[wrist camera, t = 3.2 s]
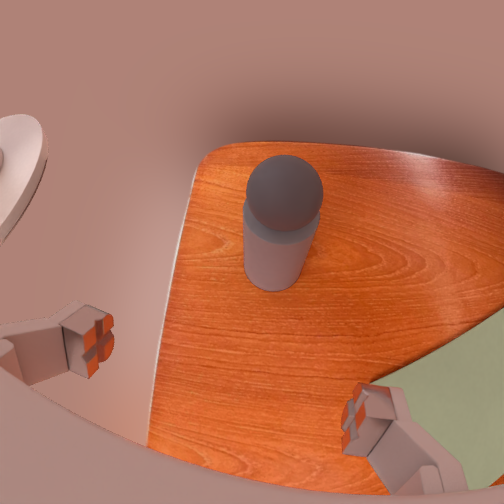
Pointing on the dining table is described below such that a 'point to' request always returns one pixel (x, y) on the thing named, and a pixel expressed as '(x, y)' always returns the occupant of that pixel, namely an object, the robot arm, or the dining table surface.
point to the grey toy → (280, 220)
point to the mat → (462, 398)
